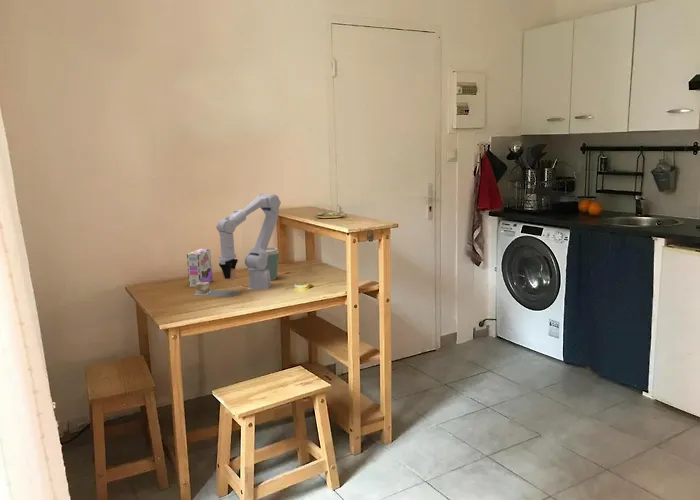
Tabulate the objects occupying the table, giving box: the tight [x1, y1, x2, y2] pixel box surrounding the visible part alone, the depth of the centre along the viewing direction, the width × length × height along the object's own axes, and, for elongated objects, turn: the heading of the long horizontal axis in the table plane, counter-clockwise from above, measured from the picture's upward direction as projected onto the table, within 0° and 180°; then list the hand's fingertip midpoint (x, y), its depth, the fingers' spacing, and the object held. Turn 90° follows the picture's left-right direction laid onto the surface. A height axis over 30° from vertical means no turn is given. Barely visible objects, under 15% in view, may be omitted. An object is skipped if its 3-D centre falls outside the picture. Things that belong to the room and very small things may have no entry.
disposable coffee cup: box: [265, 246, 280, 281], centre depth 288 cm, size 11×11×15 cm
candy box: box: [186, 248, 213, 288], centre depth 280 cm, size 14×6×16 cm, turn 168°
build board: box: [191, 289, 241, 298], centre depth 262 cm, size 19×11×1 cm, turn 81°
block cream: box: [195, 282, 211, 294], centre depth 263 cm, size 4×4×4 cm
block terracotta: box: [221, 267, 237, 282], centre depth 259 cm, size 4×4×4 cm
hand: (229, 277), depth 260 cm, fingers closed on block terracotta, 4 cm apart
